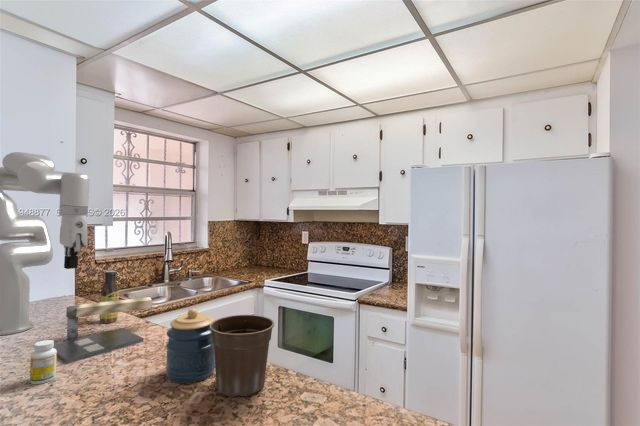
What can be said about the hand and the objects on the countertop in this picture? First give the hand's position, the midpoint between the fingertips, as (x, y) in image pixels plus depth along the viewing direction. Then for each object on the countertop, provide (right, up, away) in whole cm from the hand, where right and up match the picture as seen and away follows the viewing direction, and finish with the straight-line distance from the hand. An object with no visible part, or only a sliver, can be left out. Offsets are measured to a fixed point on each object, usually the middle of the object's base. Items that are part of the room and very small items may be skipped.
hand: (70, 268), depth 111 cm
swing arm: (+6, -17, +12) cm, 22 cm away
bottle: (-3, -25, +25) cm, 36 cm away
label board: (+6, -25, +3) cm, 26 cm away
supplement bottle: (+9, -26, -22) cm, 35 cm away
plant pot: (+60, -27, -22) cm, 69 cm away
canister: (+45, -27, -16) cm, 54 cm away
